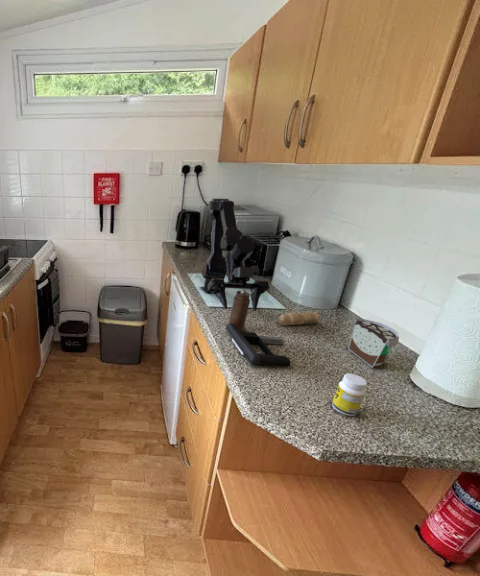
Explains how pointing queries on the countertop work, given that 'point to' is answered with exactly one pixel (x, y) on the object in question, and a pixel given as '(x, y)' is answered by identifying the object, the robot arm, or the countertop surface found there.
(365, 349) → the food container
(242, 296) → the pepper mill
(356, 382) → the supplement bottle
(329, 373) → the countertop surface
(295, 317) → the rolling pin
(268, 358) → the door handle
